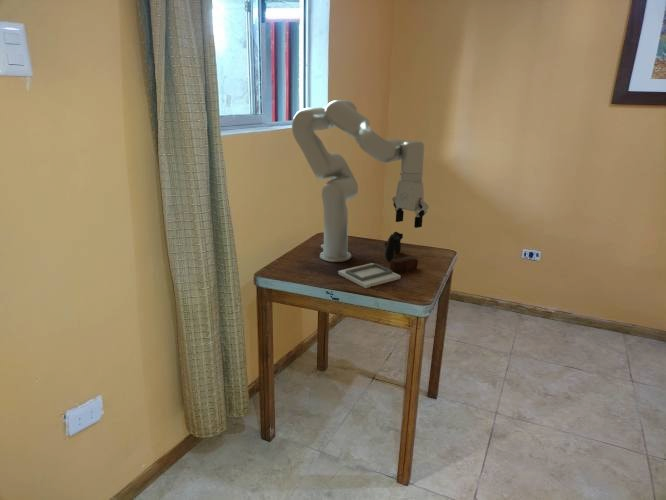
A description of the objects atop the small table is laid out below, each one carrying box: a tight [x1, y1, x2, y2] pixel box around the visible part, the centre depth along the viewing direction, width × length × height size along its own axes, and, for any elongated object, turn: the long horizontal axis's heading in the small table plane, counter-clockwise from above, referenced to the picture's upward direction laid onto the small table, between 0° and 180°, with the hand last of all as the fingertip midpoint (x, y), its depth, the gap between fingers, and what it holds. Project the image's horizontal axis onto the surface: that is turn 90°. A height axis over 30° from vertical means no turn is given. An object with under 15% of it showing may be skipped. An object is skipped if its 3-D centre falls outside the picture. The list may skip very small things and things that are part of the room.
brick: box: [389, 255, 419, 275], centre depth 172 cm, size 11×4×5 cm, turn 124°
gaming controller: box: [384, 231, 404, 262], centre depth 186 cm, size 14×6×10 cm, turn 157°
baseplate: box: [337, 262, 401, 289], centre depth 165 cm, size 16×16×2 cm
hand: (408, 224), depth 166 cm, fingers open, 9 cm apart
